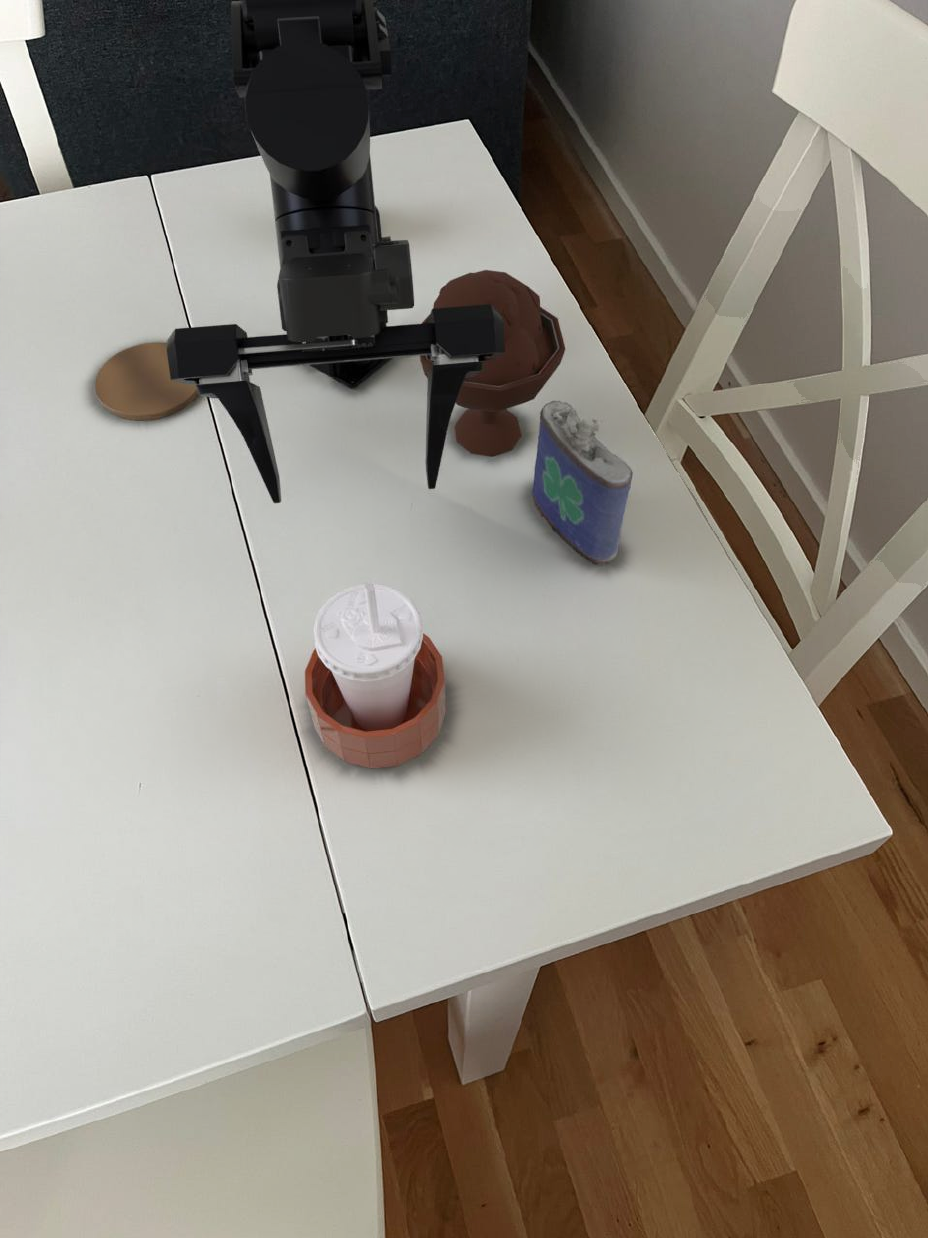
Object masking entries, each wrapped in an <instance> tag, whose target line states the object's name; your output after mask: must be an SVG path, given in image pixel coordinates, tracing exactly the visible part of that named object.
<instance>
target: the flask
mask: <svg viewBox="0 0 928 1238" xmlns="http://www.w3.org/2000/svg"><path fill="white" fill-rule="evenodd" d="M592 422H593V424H591V425H590V424H588V422H587V420H586V419H580V416H579V414H578V412H577V410H576V409H575V408H574V407H573V406H572V405H571V404H570V403H568V402H566V401H560V400H552V401H549V402H548V403H546V404H545V405H543V407H542V408H541V410H540V412H539V431H538V436H537V445H536V446H537V450H536V458H535V464H534V475H533V483H532V490H531V499H532V502H533V504H534V507H535V508H536V509H537V511H538V513H539V515H540V517H541V518H543V520H544V522H545V523H546V524H547V526H548V527H550V528H551V530H552V531H553V532H555V533H556V534H558V536H559V537H560V538H561V539H562V540H563V541H564V542H565V543H566V544H567V545H568V546H569V547H571V549H573V551H575V552H576V553H577V554H579V556H580V557H581V558H583V559H585V560H586V561H588V562H590V563H591V564H593V565H596V566H597V567H598V566H607V565H608V564H610V563H612V562H613V561H615V559H616V557H617V554H618V551H619V545H620V537H621V534H622V533H621V532H622V526H623V522H624V516H625V512H626V506H627V503H628V497H629V492H630V489H631V487H632V482H633V476H634V475H633V474H634V472H633V470H632V467H630V465H628V463H627V462H625V461H624V460H622V459H621V458H619V457H618V456H617V455H616V454H615V453H613V452H612V451H610V450H609V449H608V448H607V446H605V445H604V444H603V443H601V441H600V440H598V438H596V432H599V431H600V429H601V428H600V425H599V423H598V419H595V418H592Z"/></svg>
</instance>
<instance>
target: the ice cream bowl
mask: <svg viewBox="0 0 928 1238" xmlns="http://www.w3.org/2000/svg"><path fill="white" fill-rule="evenodd" d="M484 304H492V305H493V306H494V307H495V308H496V309H497V310H498V311H499V312H500V313H501V315H502V320H503V327H504V340H505V353H504V354H503V355H501V356H500V357H498V358H497V359H496V360H491V361H484V362H483V371H482V372H481V373H479V374H478V375H476V376H475V377H468V378H465V379H464V381H463V384H462V386H461V389H460V391H459V394H458V397H457V400H456V403H455V405H457V406H459V407H462V408H464V409H466V410H465V411H464V412H463V413H462V415H461V416H460V417H459V418H458V419H457V421H456V422H455V425H454V433H455V439H456V443H457V444H458V445H460V446H461V447H462V448H463V449H465V450H466V451H467V452H469V453H470V454H473V455H478V456H479V455H480V456H486V457H496V456H498V455H502V454H504V453H508V452H510V451H512V450H513V449H514V448H515V446H516V445H517V444H518V443H519V441H520V440H521V438H523V437H522V430H521V425H520V421H519V418H518V417H517V416H516V415H515V414H514V413H512V412H511V411H509V410H508V409H511V408H513V407H517V406H519V405H523V404H525V403H527V402H530V401H533V400H535V399H536V397H537V396H538V395H539V394H540V392H541V391H542V389H543V388H544V387H545V385H546V384H547V382H548V381H549V380H550V379H551V377H552V376H553V375H554V373H555V371H557V369H558V368H559V366H560V365H561V363H562V360H563V357H564V354H565V352H566V345H565V341H564V338H563V334H562V329H561V325H560V323H559V317H557V316H555V315H554V314H552V313H550V312H549V311H548V310H546V309H545V308H543V307H542V306H541V297H540V295H539V294H538V293H537V292H535V291H534V290H533V289H532V288H531V287H529V286H528V285H526V284H525V283H523V282H522V281H520V280H519V279H517V278H515V277H513V276H512V275H511V274H509V273H507V272H505V271H497V270H490V269H483V270H480V271H476V272H471V271H470V272H468V273H465V274H463V275H460V276H458V277H455V278H453V279H450V280H449V281H448V282H447V283H446V284H445V285H444V286H442V287H441V288H440V290H439V293H438V296H437V298H436V299H435V301H434V302H433V305H432V306H433V307H432V309H433V308H445V307H458V306H471V305H484ZM429 316H430V314H428V315H427V316H426V317H425V319H424V320H423V321H422V322H421V323H420V324H423V323H429ZM419 359H420V360H419V361H420V364H421V367H422V371H423V373H424V376H425V377H426V380H428V372H429V370H430V369H431V367H432V366H433V365H434V361H433V360H432V361H430V355H421V356H419Z"/></svg>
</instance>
